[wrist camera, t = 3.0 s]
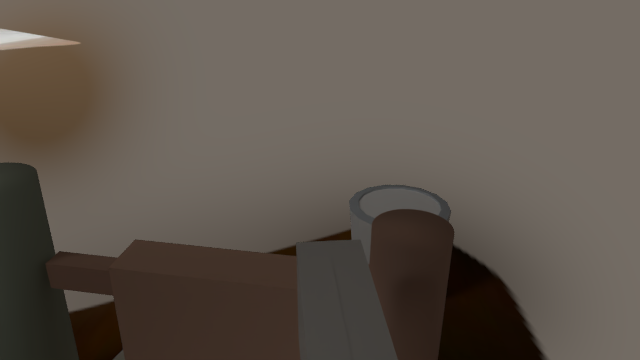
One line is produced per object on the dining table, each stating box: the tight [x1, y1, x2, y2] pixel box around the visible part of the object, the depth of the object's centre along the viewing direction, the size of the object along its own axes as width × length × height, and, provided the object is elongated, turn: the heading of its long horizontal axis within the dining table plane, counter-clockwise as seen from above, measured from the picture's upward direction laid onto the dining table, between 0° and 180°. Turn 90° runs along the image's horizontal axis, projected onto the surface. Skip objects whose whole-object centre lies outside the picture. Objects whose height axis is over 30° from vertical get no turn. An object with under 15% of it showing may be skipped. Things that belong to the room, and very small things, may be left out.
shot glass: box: [350, 185, 451, 264], centre depth 38 cm, size 7×7×7 cm
